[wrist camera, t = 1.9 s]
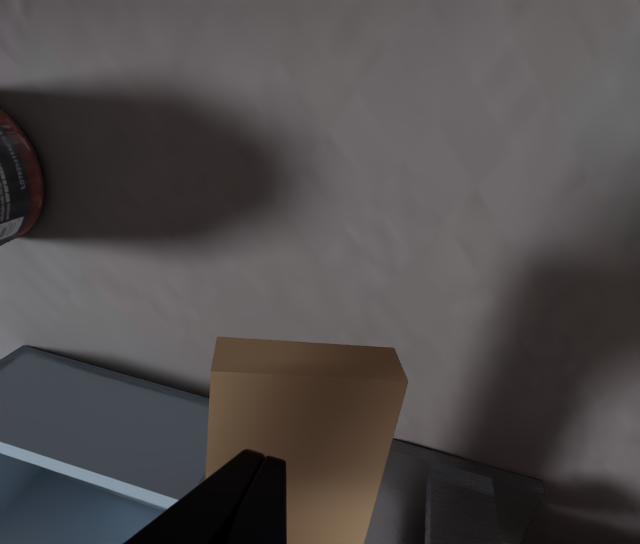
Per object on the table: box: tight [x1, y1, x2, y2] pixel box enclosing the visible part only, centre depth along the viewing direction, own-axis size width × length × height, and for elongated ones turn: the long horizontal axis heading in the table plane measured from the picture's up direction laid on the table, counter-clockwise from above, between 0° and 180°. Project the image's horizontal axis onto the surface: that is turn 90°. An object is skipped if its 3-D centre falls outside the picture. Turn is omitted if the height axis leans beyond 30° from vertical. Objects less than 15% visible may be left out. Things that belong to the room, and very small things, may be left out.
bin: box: [0, 345, 209, 544], centre depth 20 cm, size 11×8×5 cm
